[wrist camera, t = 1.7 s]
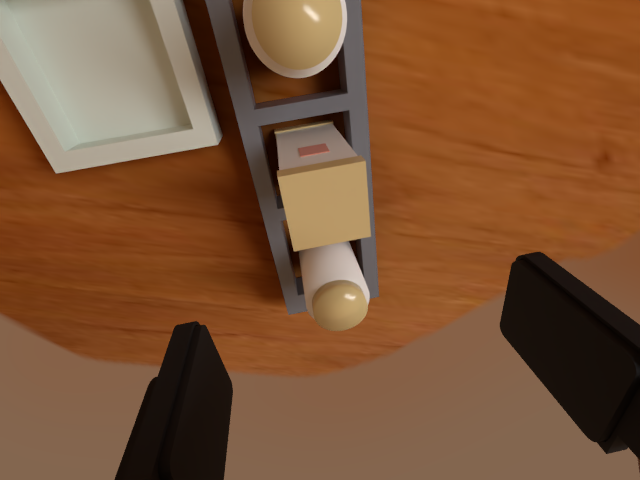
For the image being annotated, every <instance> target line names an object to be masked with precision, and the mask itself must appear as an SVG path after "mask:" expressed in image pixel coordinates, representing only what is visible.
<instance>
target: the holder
mask: <svg viewBox="0 0 640 480" xmlns="http://www.w3.org/2000/svg"><path fill="white" fill-rule="evenodd" d="M205 1H206V5H207V8H208V12H209V16H210V20H211V24H212V27H213V31H214V35H215V39H216V42H217V46H218V50H219V54H220V58H221V61H222V65H223V69H224V73H225V76H226V80H227V84H228V88H229V92H230V95H231V99H232V103H233V107H234V110H235V114H236V118H237V122H238V126H239V129H240V133H241V137H242V141H243V144H244V148H245V152H246V156H247V160H248V163H249V167H250V171H251V175H252V178H253V182H254V186H255V190H256V193H257V197H258V201H259V205H260V209H261V212H262V216H263V220H264V224H265V227H266V231H267V235H268V239H269V243H270V246H271V250H272V254H273V258H274V261H275V265H276V269H277V273H278V277H279V280H280V284H281V288H282V292H283V295H284V299H285V303H286V307H287V311H288V314H289V315H290V314H295V313H300V312H305V311H307V308H306V301H305V294H304V287H303V280H302V277H300V278H296V277H295V273H294V268H293V264H292V260H291V255H290V251H289V247H288V242H287V238H286V234H285V229H284V225H283V220H287V218H286V214H285V209H284V205H283V200H282V196H281V195H279V196H277V194H276V190H275V186H274V181H273V177H272V173H271V168H270V164H269V160H268V155H267V151H266V147H265V142H264V138H263V134H262V129H261V126H262V125H268V124H273V123H279V122H285V121H290V120H296V119H302V118H307V117H313V116H318V115H324V114H330V113H335V112H341V111H343V119H344V129H345V139H346V142H347V143H348V144H349V145H350V147H351V148H352V149H353V150H354V152H355V153H356V154H357V155H358V156H360V155H361V156H362V157H363V158H364V159H365V161H366V172H367V187H368V201H369V216H370V230H371V237H366V238H361V239H356V250H357V260H358V265H359V267H360V270H361V272H362V275H363V277H364V280H365V282H366V285H367V287H368V290H369V293H370V298H375V297H379V289H378V273H377V256H376V240H375V224H374V207H373V191H372V174H371V158H370V142H369V125H368V109H367V92H366V76H365V60H364V43H363V27H362V10H361V0H345V3H346V9H347V28H346V33H345V37H344V41H343V44H342V46H341V48H340V50H339V52H338V54H337V58H338V68H339V78H340V88H341V89H337V90H332V91H326V92H320V93H314V94H309V95H303V96H297V97H291V98H286V99H280V100H274V101H268V102H263V103H257V104H256V103H255V99H254V94H253V90H252V86H251V81H250V77H249V73H248V68H247V64H246V60H245V55H244V51H243V47H242V42H241V38H240V34H239V29H238V25H237V21H236V16H235V12H234V8H233V3H232V0H205Z"/></svg>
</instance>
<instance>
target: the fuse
mask: <svg viewBox="0 0 640 480" xmlns="http://www.w3.org/2000/svg"><path fill="white" fill-rule="evenodd" d="M274 132H275V137H276V142H277V149H278V161H279V170H278V171H277V178H278V182H279V187H280V191H281V196H282V200H283V205H284V209H285V214H286V218H287V223H288V227H289V232H290V236H291V241H292V245H293V250H294V251H299V250H304V249H309V248H315V247H320V246H325V245H330V244H335V243H340V242H346V241H351V240H356V239H361V238H366V237H371V230H370V216H369V201H368V187H367V172H366V161H365V159H364V158H363V157H362V156H361V155H360V156H358V155H357V154H356V153H355V152H354V150H353V149H352V148H351V147H350V145H349V144H348V143H347V142H346V140H345V139H344V138H343V137H342V135H341V134H340V133H339V132H338V130H337V129H336V128H335V126H334V124H333V121H332V120H331V119H330V120H324V121H318V122H313V123H307V124H301V125H296V126H290V127H284V128H279V129H274Z"/></svg>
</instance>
